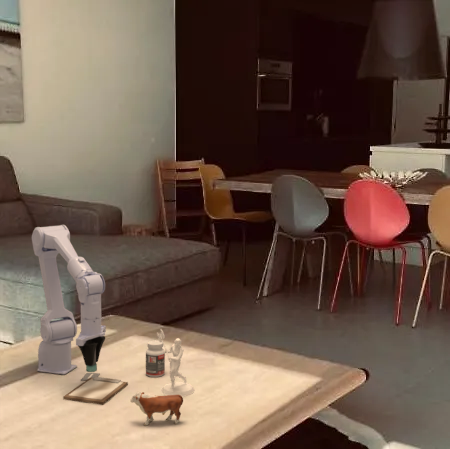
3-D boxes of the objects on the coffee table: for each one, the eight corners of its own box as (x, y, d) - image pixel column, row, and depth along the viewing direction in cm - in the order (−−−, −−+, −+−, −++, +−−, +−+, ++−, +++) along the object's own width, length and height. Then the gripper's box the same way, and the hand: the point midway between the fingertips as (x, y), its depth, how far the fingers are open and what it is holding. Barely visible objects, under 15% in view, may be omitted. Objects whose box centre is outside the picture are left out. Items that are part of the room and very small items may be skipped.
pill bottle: (161, 378, 224) (161, 346, 223) (143, 376, 225) (143, 344, 224) (166, 371, 230) (167, 340, 228) (148, 370, 231) (149, 339, 229)
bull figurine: (130, 419, 194) (130, 389, 193) (182, 418, 195) (183, 388, 194) (129, 426, 189) (129, 395, 188) (183, 425, 191) (183, 394, 189)
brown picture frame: (63, 399, 206) (63, 394, 206) (90, 380, 222) (90, 375, 221) (103, 404, 203) (103, 399, 203) (127, 384, 218) (127, 380, 218)
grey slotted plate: (80, 380, 221) (80, 379, 221) (87, 373, 227) (86, 372, 227) (94, 381, 221) (94, 380, 221) (99, 374, 226) (99, 373, 226)
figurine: (154, 388, 216) (154, 327, 213) (182, 381, 221) (182, 322, 219) (172, 399, 208) (173, 335, 205) (201, 391, 214) (201, 330, 211)
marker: (84, 371, 214) (84, 344, 213) (88, 368, 217) (88, 341, 216) (94, 372, 213) (94, 345, 212) (98, 369, 216) (98, 342, 215)
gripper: (92, 324, 205) (92, 372, 207) (115, 311, 219) (115, 357, 221) (68, 322, 207) (69, 370, 209) (93, 309, 221) (93, 354, 223)
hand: (91, 363), depth 215 cm, fingers closed on marker, 3 cm apart
